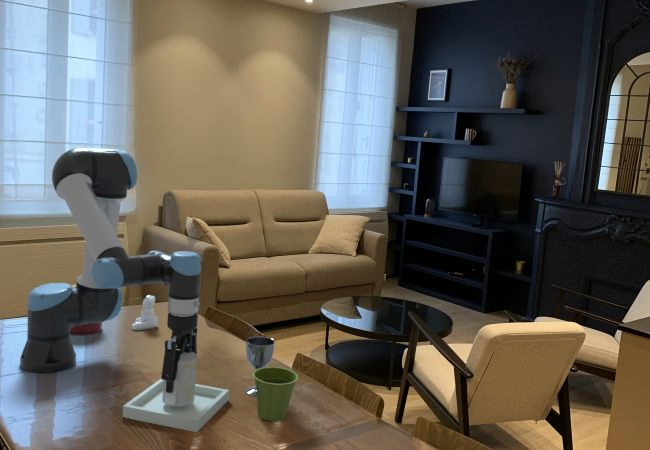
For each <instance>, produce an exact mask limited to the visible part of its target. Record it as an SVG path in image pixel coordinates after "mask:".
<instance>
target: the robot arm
mask: <svg viewBox="0 0 650 450" xmlns="http://www.w3.org/2000/svg"><path fill="white" fill-rule="evenodd" d="M51 180H52V185H53V188H54V190H55V193H56V195H57V197H59V198H60V199H62V200H64V202H65V203H66V204H65V205H67V208H68V209H69V211H70V213H71V215H72V217H73V219H74V221H75V223H76V226H77V227H78V230H79V231H80V233H81V235H82V237H83V238H84V240H85V246H84V255H83V256H84V257H83V258H84V259H83V266H82V267H83V268H82V274H80V275H79V276H78V277H77V278H76V284H75V285H76V287H71V286H72V285H71V284H69V283H68V282H67V283H66V282H57V283H56V282H51V283H46V284H42V285H39V286H36V287H35V288H33V289H32V290H31V291H30V292H29V293H28V300H27V305H26V308H27V334H26V335H27V336H26V337H27V338H26V342H25V345H24V347H23V350H22V353H21V355H20V358H19V359H20V360H19V361H20V363H19V367H20V369H21V368H22V369H23V370H25V371H27V372H32V373H42V374H43V373H53V372H61V371H65V370H68V369H70V368H72V367H73V366H74V365H75V364H76V363H77V353H76V352H75V348H74V345H73V342H72V339H71V334H70V330H71V327H72V326H78V325H84V324H90V323H97V322H102V323H104V322H106V321H110V320H111V321H112V320H113V319H115V318H116V317H118V315H119V313H120V312H121V310H122V307H123V303H124V302H123V301H124V299H123V298H124V297H123V289H122V288H123V287H132V286H140V285H148V284H156V283H157V284H158V283H161V284H164V285H166V286H169V287H168V288H169V290H168V302H167V303H168V306H167V311H168V314H167V323H166V324H167V327H168V329H170V330H171V336H170V339H169V340H167V339H166V340H165V341H164V355H163V362H162V363H163V364H162V369H161V376H160V377H161V378H160V379H162V380H166V390H165V403H167V404H172V405H175V404H176V394H177V379H176V374H177V370H178V361H179V360H180V357H181V354H183V352H188V353H190V352H194V353H195V354H196V355H197V356H198V342H197V341H198V339H197V337H198V336H197V335H198V328H197V327H198V320H199V314H198V311H199V306H200V305H201V304H200V303H201V302H200V301H199V300H200V299H199V298H200V297H199V296H200V288H201V287H200V285H201V272H202V268H201V266H202V265H201V263H202V260H201V259H202V258H201V256H200V254H199V253H197V252H194V251H183V250H182V251H181V250H180V251H179V250H178V251H175V252H173V253H171V254H169V253H167V252H164V251H160V250H159V251H158V250H151V251H148V252H147V253H145V254H141V255H140V254H139V255H128V253H127V252H126V249H125V247H124V246H123V244H122V243H121V240H120V239H119V237H118V228H119V219H120V211H121V203H122V202H123V200H125V199H127V198H128V197H127V195H128V191H130V190H133V189H134V188H135V186H136V184H137V182H138V169H137V165H136V163H135V160H134V158H133V156H132V155H131V154H130V153H129V152H127V151H125V150H121V149H120V150H119V149H113V148H110V149H109V148H85V147H76V148H72V149H69V150H67V151H65V152H64V153H62V154H61V155H60V156H59V157H58V158H57V159H56V161H55V163H54V165H53V168H52V172H51ZM196 366H197V364H196Z"/></svg>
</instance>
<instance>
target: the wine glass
mask: <svg viewBox="0 0 650 450" xmlns="http://www.w3.org/2000/svg"><path fill="white" fill-rule="evenodd" d="M275 343H276V342H275V340H274V339H273V338H271V337H267V336H260V335H259V336H256V335H255V336H249V337H248V338H247V339H246V342H245V352H246V359H247V362H248V363H249V364H250V366H251V367H252V368H253V369H254V371H255V370H257V369H259V368H264V367H267V366H268V365H269V364H270V363H271V361H272V359H273V356H274V351H275ZM243 391H244V393H245V394H246V395H247V396H251V397H254V398H255V397H256V398H257V392H256V385H252V386H249V387H246V388H245V389H244V390H243Z"/></svg>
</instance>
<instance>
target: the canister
mask: <svg viewBox="0 0 650 450" xmlns="http://www.w3.org/2000/svg"><path fill="white" fill-rule="evenodd" d="M71 287H76V284H72V285H71ZM102 327H103V322H97V323H90V324H84V325H78V326H72V327H71V330H70V335H75V336H85V335H93V334H96V333H98V332H101V330H102V329H103V328H102Z"/></svg>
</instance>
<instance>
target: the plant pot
mask: <svg viewBox="0 0 650 450" xmlns="http://www.w3.org/2000/svg"><path fill="white" fill-rule="evenodd" d="M252 377H253V379H254V382H255V383H254V384H255V385H254V386H256V392H257V397H256V402H257V403H256V404H257V405H256V406H257V415H258V417H259V418H260V419H261V420H264V421H271V422H279V421H283V420H284V419H285V418H286V416H287V412H288V408H289V405H290V400H291V397H292V393H293V390H294V388H295V386H296V382H297V381H298V380H299V375H298V374H297V373H296V372H295V371H294V370H291V369H288V368H286V367H279V366H265V367H264V368H259V369H257V370H255V369H254V370H253V372H252Z"/></svg>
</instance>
